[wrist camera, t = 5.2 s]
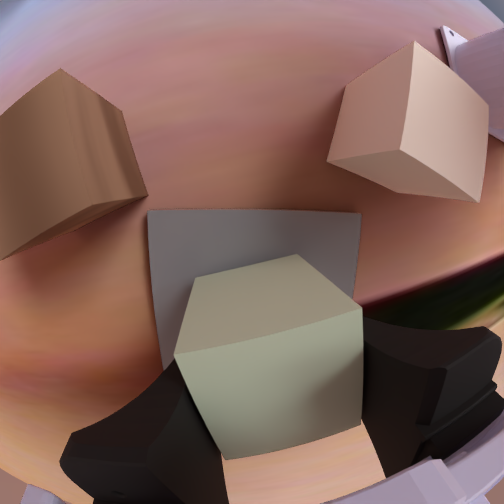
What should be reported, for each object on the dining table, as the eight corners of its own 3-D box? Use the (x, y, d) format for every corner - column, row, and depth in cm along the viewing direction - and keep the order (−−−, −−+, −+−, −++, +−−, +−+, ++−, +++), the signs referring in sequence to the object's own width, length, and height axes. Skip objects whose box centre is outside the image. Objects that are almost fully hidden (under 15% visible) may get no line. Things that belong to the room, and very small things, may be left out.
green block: (297, 253, 12) (361, 308, 6) (310, 340, 13) (360, 424, 7) (195, 277, 12) (173, 354, 6) (221, 362, 13) (225, 460, 7)
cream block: (411, 121, 12) (488, 105, 7) (396, 192, 13) (479, 203, 7) (345, 85, 12) (413, 40, 6) (326, 161, 12) (399, 149, 7)
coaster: (356, 212, 13) (361, 213, 13) (332, 375, 15) (335, 381, 15) (150, 209, 12) (147, 210, 11) (168, 383, 14) (167, 390, 14)
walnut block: (122, 111, 11) (60, 68, 5) (148, 195, 12) (92, 204, 6) (51, 152, 11) (-27, 143, 5) (74, 230, 12) (-1, 261, 6)
